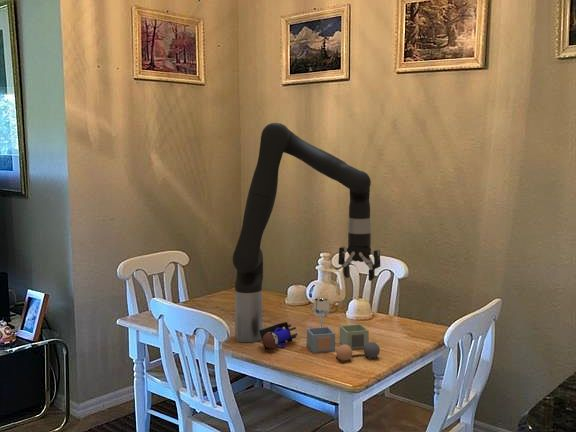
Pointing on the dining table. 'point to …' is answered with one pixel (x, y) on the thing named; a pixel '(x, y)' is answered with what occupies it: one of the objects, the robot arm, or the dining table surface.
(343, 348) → the ball terracotta
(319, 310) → the wineglass
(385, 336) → the dining table surface
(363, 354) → the dark brown flat frame
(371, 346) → the ball charcoal
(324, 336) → the grey storage bin
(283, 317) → the dining table surface
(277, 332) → the character figurine
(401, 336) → the dining table surface
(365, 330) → the green storage bin
